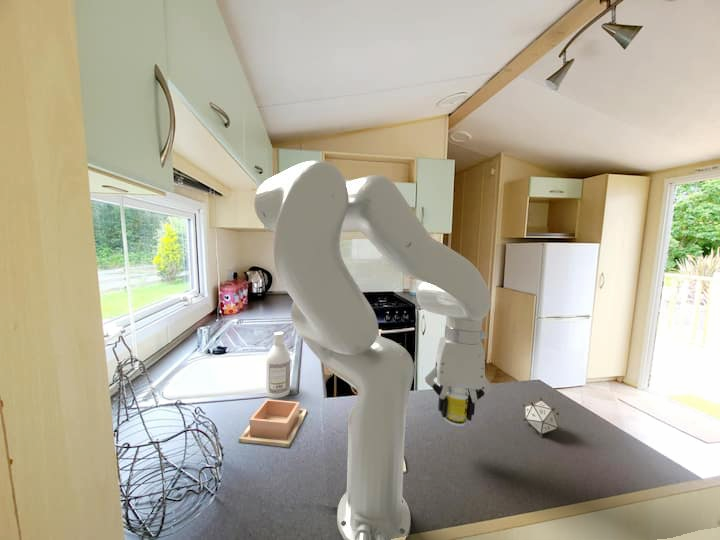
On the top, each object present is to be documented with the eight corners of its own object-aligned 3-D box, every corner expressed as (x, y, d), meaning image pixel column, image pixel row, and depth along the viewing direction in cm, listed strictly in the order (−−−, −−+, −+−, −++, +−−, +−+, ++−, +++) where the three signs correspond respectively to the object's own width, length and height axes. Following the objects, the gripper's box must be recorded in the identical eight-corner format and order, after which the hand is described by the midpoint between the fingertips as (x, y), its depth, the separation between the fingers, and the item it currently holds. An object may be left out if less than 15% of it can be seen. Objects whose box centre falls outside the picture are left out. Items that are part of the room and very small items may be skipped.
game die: (534, 446, 73) (513, 417, 72) (532, 419, 80) (513, 392, 79) (572, 444, 68) (551, 413, 67) (567, 416, 75) (547, 386, 74)
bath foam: (293, 397, 87) (294, 333, 86) (271, 404, 83) (272, 337, 81) (284, 388, 92) (284, 328, 91) (263, 394, 88) (263, 332, 87)
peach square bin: (286, 439, 66) (286, 423, 66) (249, 435, 67) (249, 419, 67) (299, 416, 75) (299, 402, 75) (266, 413, 76) (266, 399, 76)
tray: (288, 452, 64) (288, 443, 63) (238, 446, 65) (238, 438, 65) (307, 416, 77) (307, 409, 77) (265, 412, 79) (265, 405, 79)
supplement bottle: (467, 428, 60) (471, 389, 60) (444, 424, 61) (448, 386, 61) (464, 416, 65) (467, 380, 65) (442, 412, 66) (446, 377, 65)
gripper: (495, 334, 65) (488, 411, 66) (421, 327, 67) (415, 402, 67) (509, 344, 58) (501, 431, 58) (425, 335, 59) (418, 420, 60)
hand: (455, 414), depth 63 cm, fingers closed on supplement bottle, 4 cm apart
